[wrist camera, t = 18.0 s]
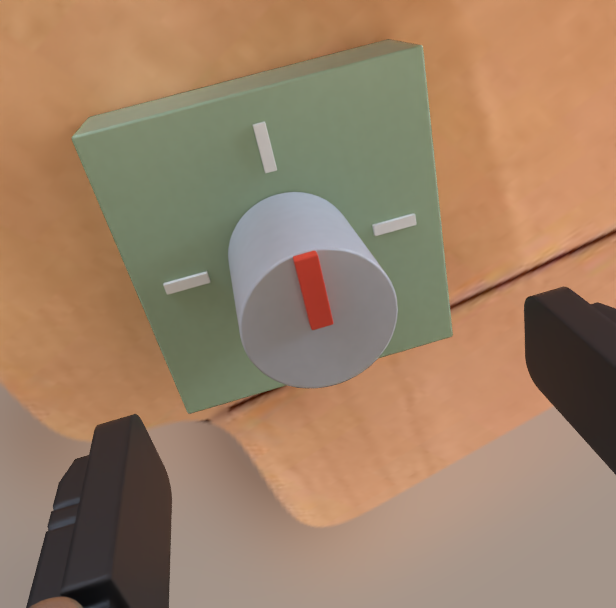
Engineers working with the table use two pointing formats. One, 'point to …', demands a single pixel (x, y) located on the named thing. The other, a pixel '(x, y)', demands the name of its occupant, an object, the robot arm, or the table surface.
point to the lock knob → (308, 292)
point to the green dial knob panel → (265, 183)
